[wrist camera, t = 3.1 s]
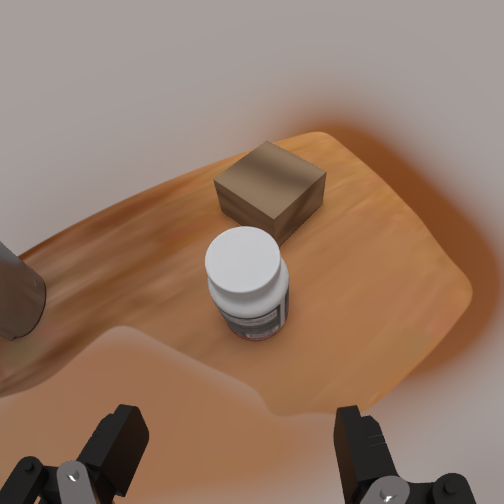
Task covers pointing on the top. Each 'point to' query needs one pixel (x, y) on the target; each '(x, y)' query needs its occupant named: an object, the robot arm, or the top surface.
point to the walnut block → (271, 191)
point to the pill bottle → (248, 281)
